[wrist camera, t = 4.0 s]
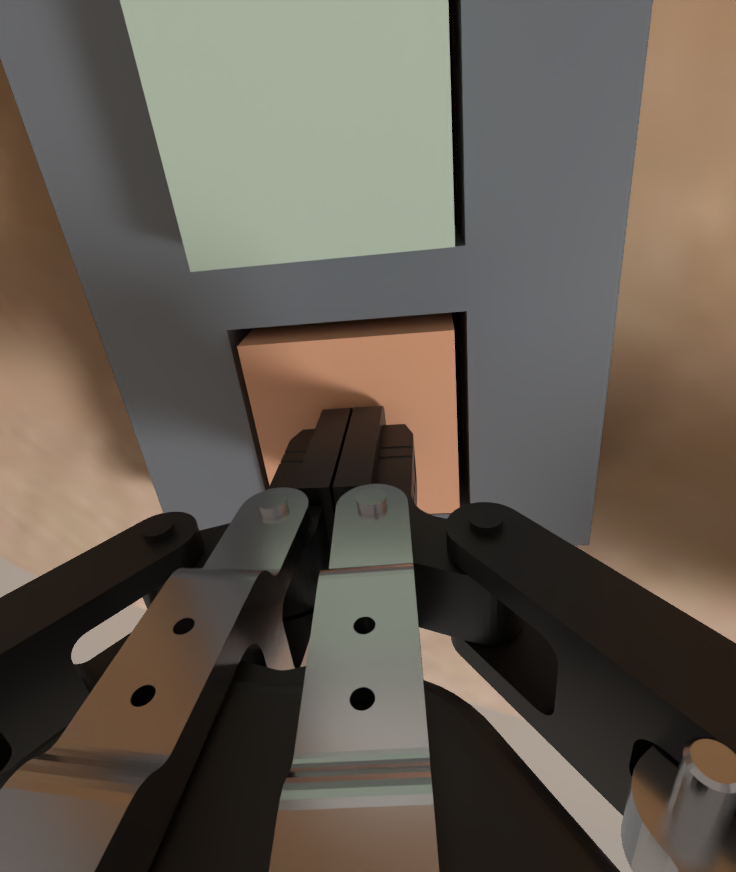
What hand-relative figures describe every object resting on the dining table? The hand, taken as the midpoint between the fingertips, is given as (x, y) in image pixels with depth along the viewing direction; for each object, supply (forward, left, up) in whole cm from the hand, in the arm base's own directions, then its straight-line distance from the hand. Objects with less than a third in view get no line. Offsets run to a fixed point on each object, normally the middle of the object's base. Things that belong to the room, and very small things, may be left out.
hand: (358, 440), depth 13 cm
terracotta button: (0, 0, -3) cm, 3 cm away
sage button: (-7, 0, -2) cm, 7 cm away
